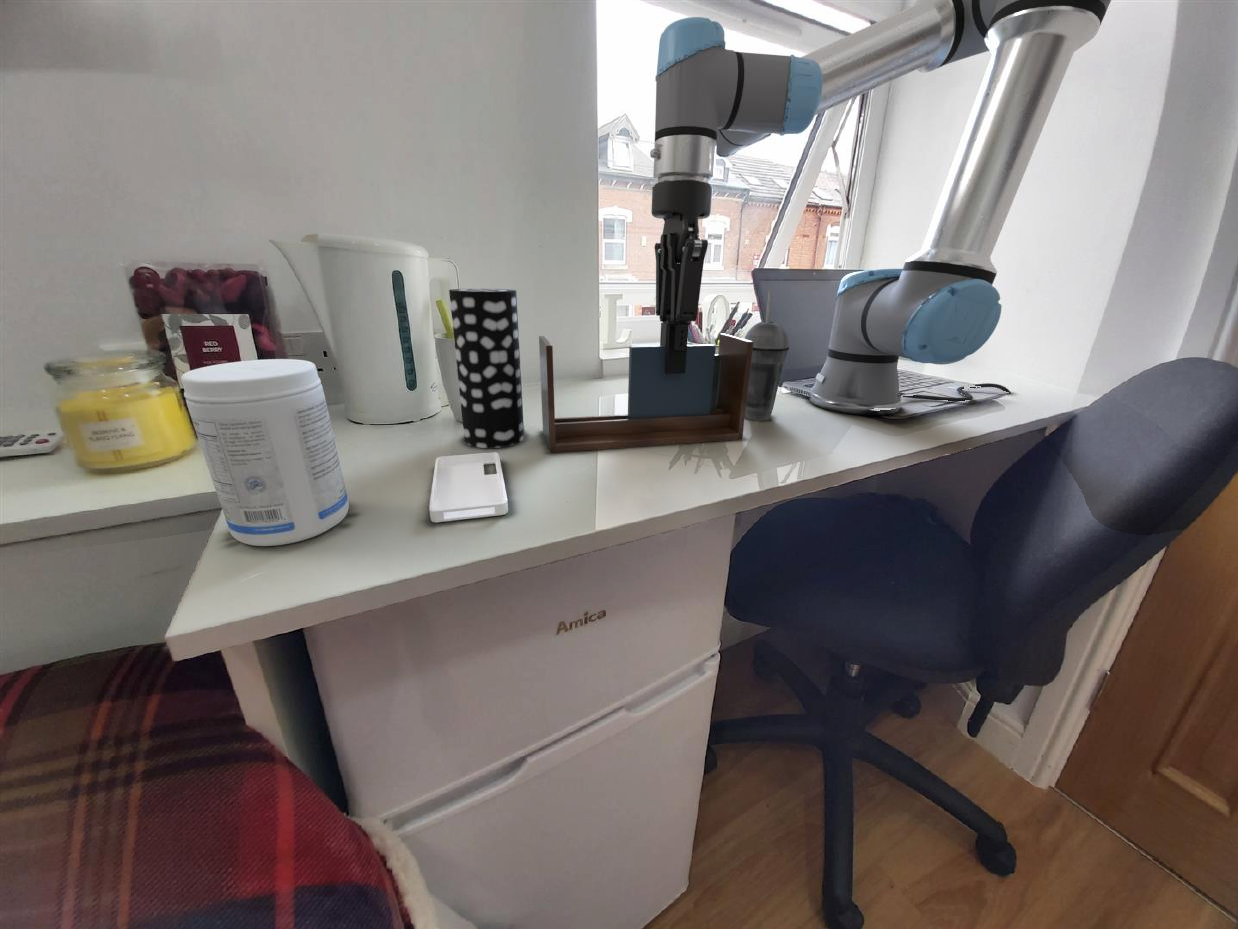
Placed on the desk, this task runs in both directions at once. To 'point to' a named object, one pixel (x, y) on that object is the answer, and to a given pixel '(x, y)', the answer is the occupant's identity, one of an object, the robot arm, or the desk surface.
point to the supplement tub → (268, 448)
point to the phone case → (467, 488)
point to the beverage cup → (765, 366)
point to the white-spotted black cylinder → (488, 366)
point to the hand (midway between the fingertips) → (671, 370)
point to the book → (669, 381)
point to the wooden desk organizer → (661, 430)
